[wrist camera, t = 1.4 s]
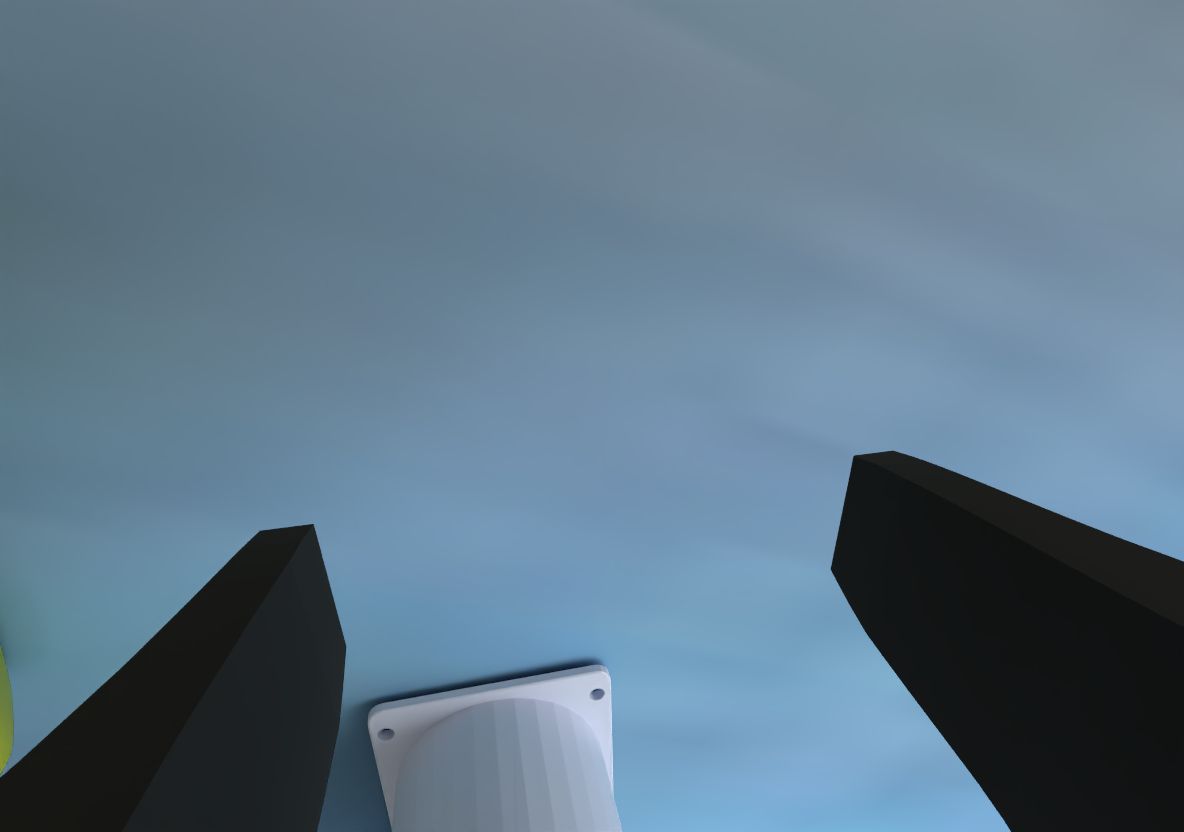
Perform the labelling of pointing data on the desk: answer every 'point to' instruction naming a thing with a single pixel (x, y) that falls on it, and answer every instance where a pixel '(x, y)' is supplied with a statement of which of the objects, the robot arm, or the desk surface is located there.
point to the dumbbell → (5, 714)
